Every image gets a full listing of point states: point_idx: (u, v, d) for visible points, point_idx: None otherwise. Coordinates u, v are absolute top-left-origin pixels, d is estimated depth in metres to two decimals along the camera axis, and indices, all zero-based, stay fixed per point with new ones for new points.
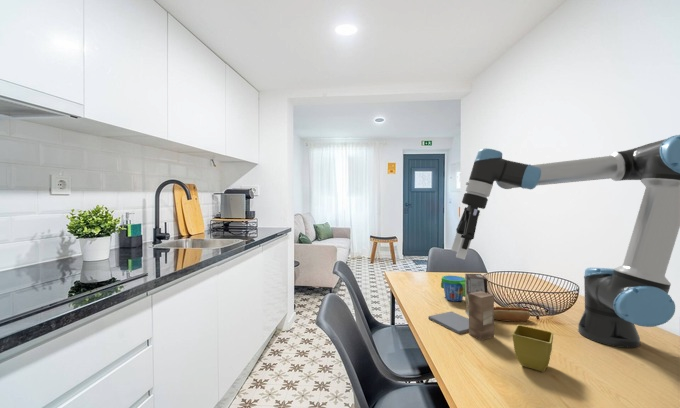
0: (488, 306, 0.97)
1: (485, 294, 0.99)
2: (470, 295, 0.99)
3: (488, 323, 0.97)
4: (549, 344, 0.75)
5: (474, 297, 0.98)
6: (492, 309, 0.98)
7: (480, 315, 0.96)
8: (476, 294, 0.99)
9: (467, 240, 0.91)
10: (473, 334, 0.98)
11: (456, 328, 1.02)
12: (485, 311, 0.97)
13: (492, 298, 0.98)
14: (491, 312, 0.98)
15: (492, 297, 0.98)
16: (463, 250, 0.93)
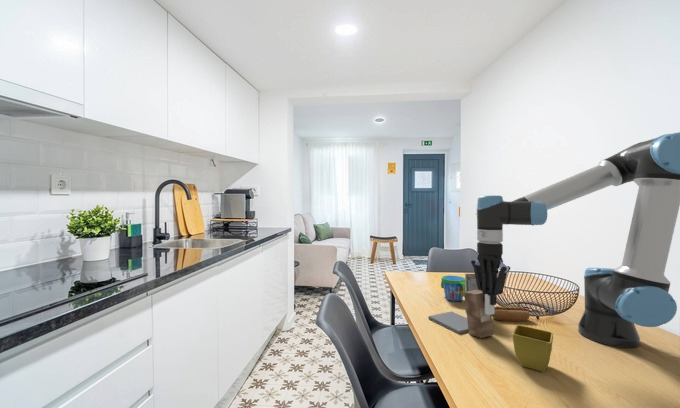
0: None
1: (480, 291, 1.01)
2: (465, 294, 1.01)
3: (486, 321, 0.98)
4: (549, 344, 0.75)
5: (469, 294, 1.00)
6: None
7: (477, 312, 0.97)
8: (471, 292, 1.01)
9: (495, 296, 0.94)
10: (473, 333, 0.98)
11: (456, 328, 1.02)
12: (482, 308, 0.98)
13: None
14: None
15: None
16: (491, 306, 0.95)
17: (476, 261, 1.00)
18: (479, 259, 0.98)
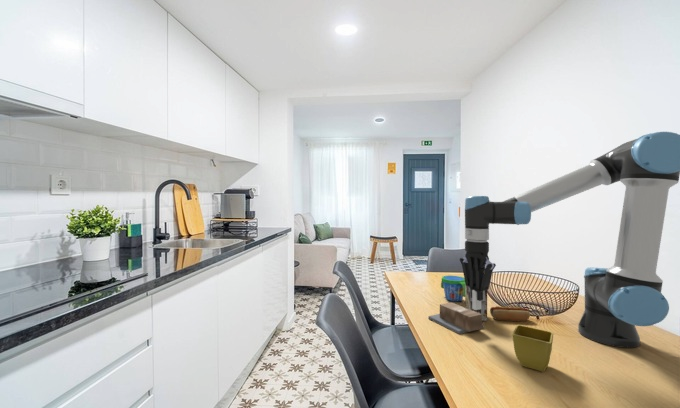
0: (452, 305, 1.11)
1: None
2: (440, 316, 1.12)
3: (465, 310, 1.06)
4: (549, 344, 0.75)
5: (440, 311, 1.12)
6: (459, 306, 1.10)
7: (451, 310, 1.07)
8: None
9: (481, 292, 0.99)
10: (468, 325, 1.00)
11: (456, 328, 1.02)
12: (453, 307, 1.09)
13: (452, 303, 1.14)
14: (460, 307, 1.09)
15: (451, 303, 1.14)
16: (478, 301, 1.00)
17: (464, 259, 1.05)
18: (467, 257, 1.03)
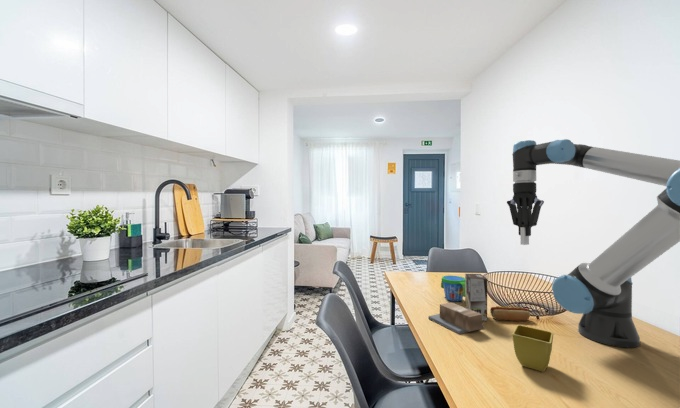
0: (452, 305, 1.11)
1: None
2: (440, 316, 1.12)
3: (465, 310, 1.06)
4: (549, 344, 0.75)
5: (440, 311, 1.12)
6: (459, 306, 1.10)
7: (451, 310, 1.07)
8: None
9: (529, 228, 1.09)
10: (468, 325, 1.00)
11: (456, 328, 1.02)
12: (453, 307, 1.09)
13: (452, 303, 1.14)
14: (460, 307, 1.09)
15: (451, 303, 1.14)
16: (526, 237, 1.10)
17: (511, 201, 1.15)
18: (515, 198, 1.13)
